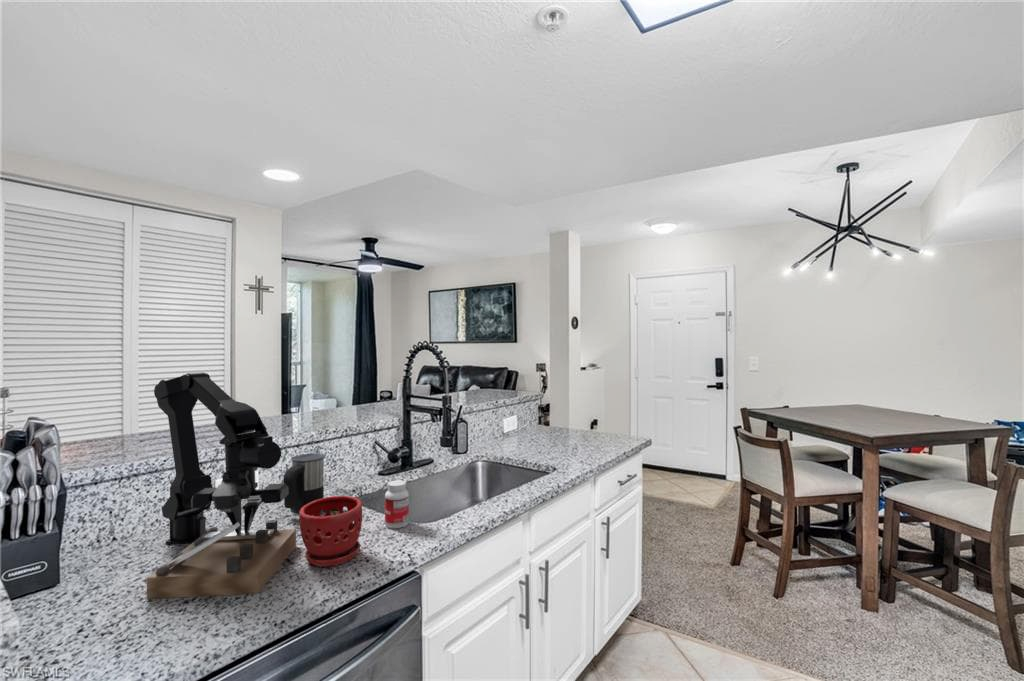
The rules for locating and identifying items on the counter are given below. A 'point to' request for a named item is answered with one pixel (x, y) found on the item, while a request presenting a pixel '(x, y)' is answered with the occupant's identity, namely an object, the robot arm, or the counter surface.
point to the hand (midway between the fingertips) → (242, 533)
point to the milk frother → (304, 481)
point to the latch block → (224, 566)
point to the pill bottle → (396, 505)
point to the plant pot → (331, 530)
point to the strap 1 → (203, 545)
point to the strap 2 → (241, 535)
